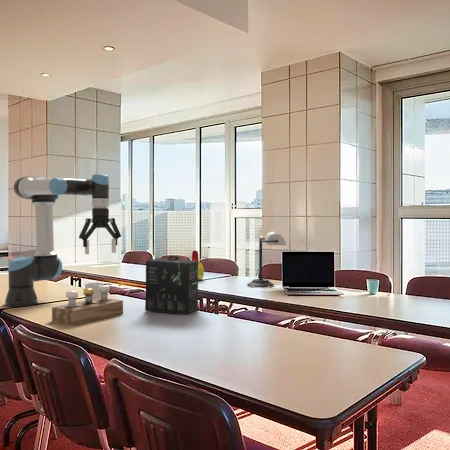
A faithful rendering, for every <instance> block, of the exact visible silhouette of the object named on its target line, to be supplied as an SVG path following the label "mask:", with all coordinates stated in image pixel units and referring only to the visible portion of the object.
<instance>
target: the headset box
mask: <svg viewBox="0 0 450 450" xmlns="http://www.w3.org/2000/svg"><path fill="white" fill-rule="evenodd" d="M198 293H199V279H198V261H192V259H190V260H188V259H179V256H178V255H177V256H175V255H174V256H172V255H169V256H168V258H157V257H156V258H155V259H150V260H146V261H145V299H144V300H145V305H144V306H145V308H144V309H145V310H144V311H145V312H152V313H153V312H154V313H165V314H176V315H183V316H189V315H192V314H193V313H195V312H197V311H198V309H199V306H198V305H199V304H198V303H199V294H198ZM194 311H195V312H194ZM192 312H193V313H192Z"/></svg>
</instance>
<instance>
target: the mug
mask: <svg viewBox="0 0 450 450" xmlns="http://www.w3.org/2000/svg"><path fill="white" fill-rule="evenodd" d="M99 286H104V283H103V282H88V283H84V289H85V288H93V289H94V294H93V295H92V299H96V298H101V292H99Z"/></svg>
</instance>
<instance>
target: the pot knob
mask: <svg viewBox="0 0 450 450" xmlns="http://www.w3.org/2000/svg"><path fill="white" fill-rule="evenodd" d="M82 294H83V295H84V301H85V305H92V295H93V294H94V289H93V288H85V287H84V288H83V293H82Z"/></svg>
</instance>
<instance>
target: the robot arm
mask: <svg viewBox="0 0 450 450" xmlns="http://www.w3.org/2000/svg"><path fill="white" fill-rule="evenodd" d="M109 186H110V181H109V175H107V174H102V173H101V174H99V173H97V174H96V173H93V174H92V176H91V179H89V178H88V179H86V178H85V179H84V178H69V177H67V178H66V177H53V178H51V177H47V176H45V177H43V176H42V177H41V176H21V177H20V178H17V179H16V180H15V181H14V183H13V192H14V193H15V194H16V196H18V197H19V198H21V199H23V200H24V199H25V200H31V204H32V205H34V209H35V213H34V214H35V215H34V216H35V236H36V238H35V240H36V241H35V242H36V244H35V245H36V252H35V253H34V254H33V256H21V257H16V258H12V259H11V260H10V261H8V268H7V270H8V271H7V272H8V291H7V293H6V297H5V301H4V303H5V304H4V305H5V306H6V305H7V306H6V307H26V306H28V307H29V306H32V305H36V304H38V297H37V293H36V291H35V288H34V283H35V282H42V281H43V282H44V281H51V280H55V279H58V278H59V276H60V275H61V274H62V272H63V271H62V270H63V261H62V259H61V258H60V257H58V254H57V252H56V251H55V246H54V245H55V241H54V209H53V208H54V207H53V206H54V205H55V204H56V201H57V199H59V197H60V195H61V196H62V195H64V196H65V195H66V196H67V195H68V196H69V195H72V196H91V206H92V209H91V213H92V214H91V216H92V218H87V217H86V218H85V223H84V225H83V227H82V230H81V231H80V233H79V236H78V239H80V240H82V246H83V247H82V248H84V255H90V239H89V238H90V237H91V235H92V234H93V233H94V231H95V230H96V229H105V230H106V231H107V232H108V233H109V234H110V236H111V237H112V238H111V253H114V254H116V253H117V252H116V251H117V246H118V240H119V238H121V237H122V235H121V232H120V230H119V228H118V226H117V223H116V219H115V217H110V218H109V216H110V209H109V207H110V206H109V205H110V202H109V201H110V198H109V197H110V196H109V195H110V187H109ZM91 223H92V224H91ZM109 223H110V224H109ZM90 225H91V226H90Z"/></svg>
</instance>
